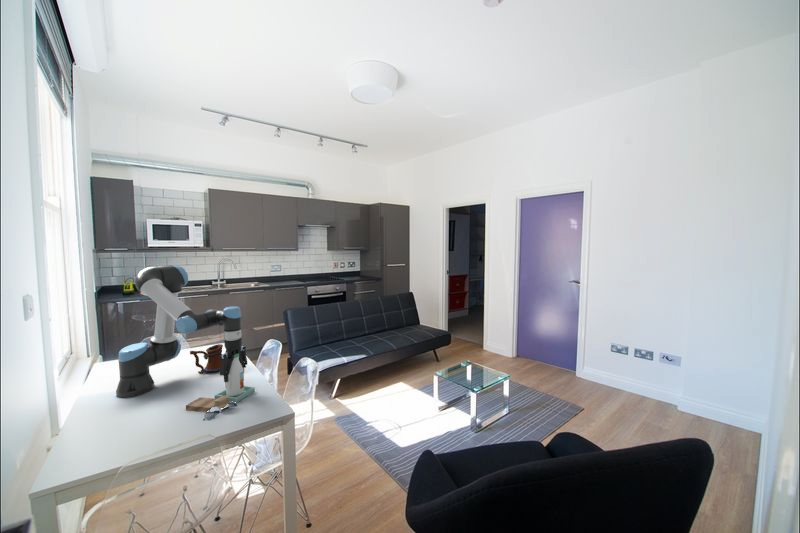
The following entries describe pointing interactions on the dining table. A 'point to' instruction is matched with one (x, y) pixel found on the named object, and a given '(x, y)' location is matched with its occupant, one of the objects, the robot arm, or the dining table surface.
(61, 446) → the dining table surface
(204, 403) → the tan wooden board
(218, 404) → the block
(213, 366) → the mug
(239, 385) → the milk bottle
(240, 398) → the tray
